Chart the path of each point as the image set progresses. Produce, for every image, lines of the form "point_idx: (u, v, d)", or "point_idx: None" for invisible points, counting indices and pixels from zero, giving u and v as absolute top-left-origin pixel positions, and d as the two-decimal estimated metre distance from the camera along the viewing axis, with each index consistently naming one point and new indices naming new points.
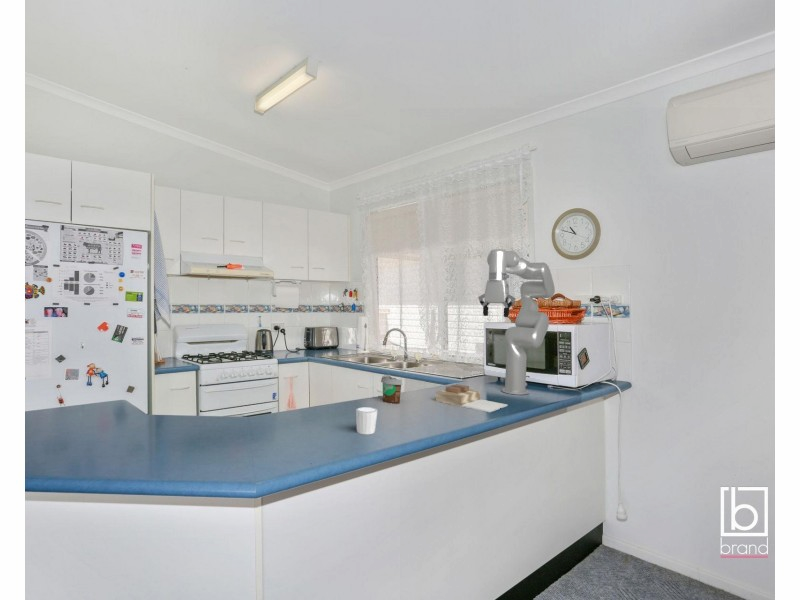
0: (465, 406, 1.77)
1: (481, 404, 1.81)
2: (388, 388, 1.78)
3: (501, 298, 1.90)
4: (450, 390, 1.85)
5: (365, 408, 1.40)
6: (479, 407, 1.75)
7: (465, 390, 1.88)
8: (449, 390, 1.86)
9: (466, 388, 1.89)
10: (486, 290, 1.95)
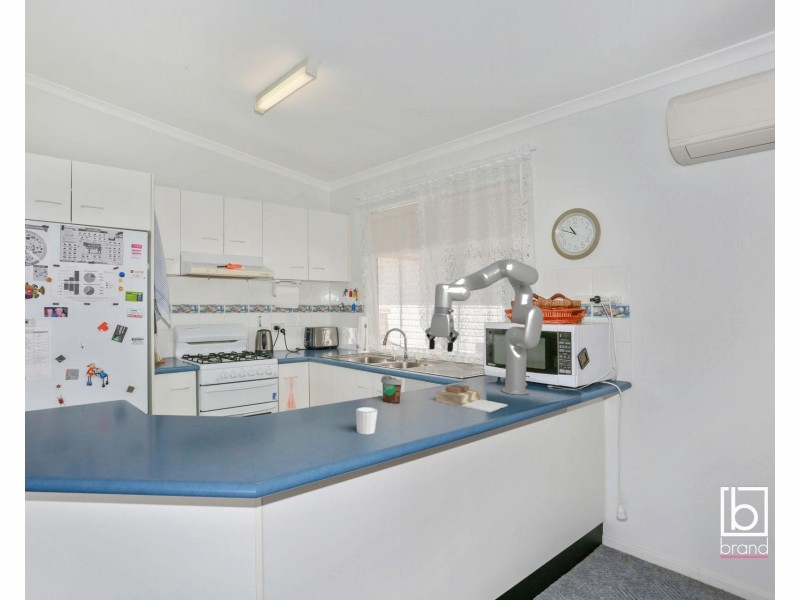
0: (465, 406, 1.77)
1: (481, 404, 1.81)
2: (388, 388, 1.78)
3: (445, 333, 1.91)
4: (450, 390, 1.85)
5: (365, 408, 1.40)
6: (479, 407, 1.75)
7: (465, 390, 1.88)
8: (449, 390, 1.86)
9: (466, 388, 1.89)
10: (432, 324, 1.95)
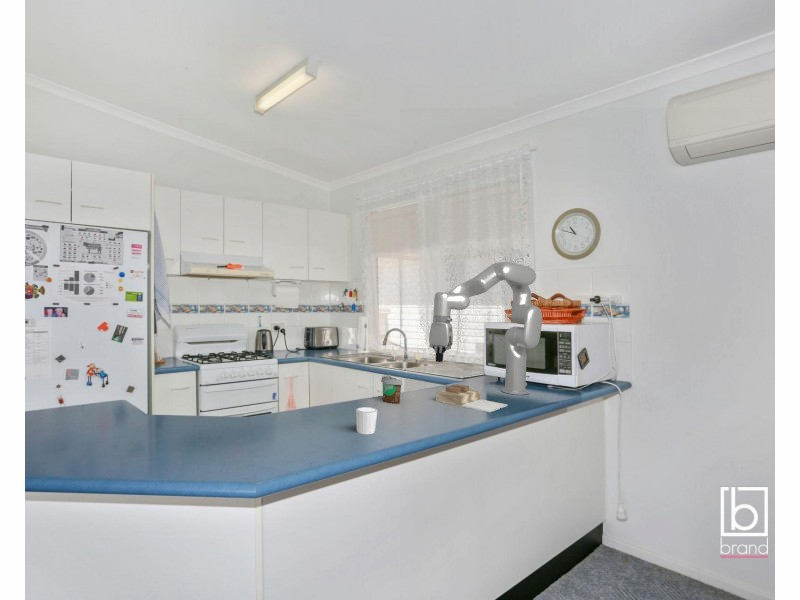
0: (465, 406, 1.77)
1: (481, 404, 1.81)
2: (388, 388, 1.78)
3: (444, 341, 1.91)
4: (450, 390, 1.85)
5: (365, 408, 1.40)
6: (479, 407, 1.75)
7: (465, 390, 1.88)
8: (449, 390, 1.86)
9: (466, 388, 1.89)
10: (430, 332, 1.95)
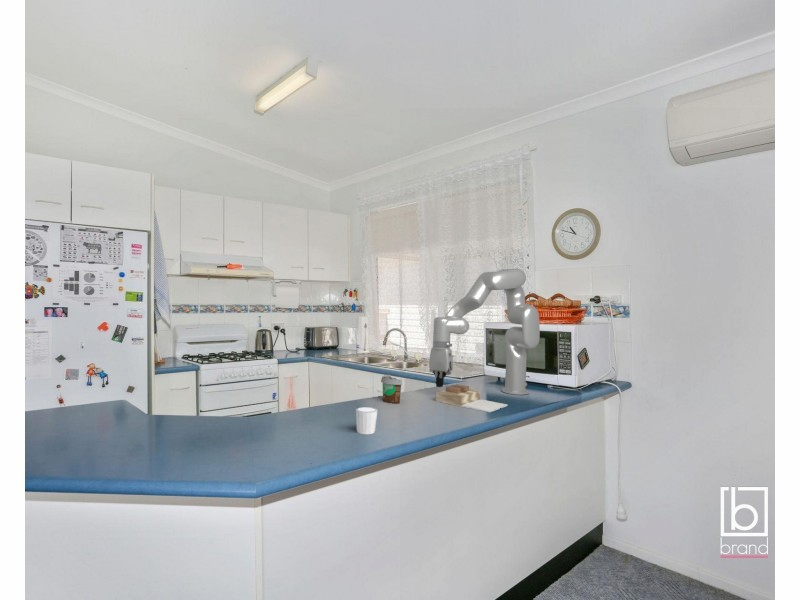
0: (465, 406, 1.77)
1: (481, 404, 1.81)
2: (388, 388, 1.78)
3: (444, 367, 1.91)
4: (450, 390, 1.85)
5: (365, 408, 1.40)
6: (479, 407, 1.75)
7: (465, 390, 1.88)
8: (449, 390, 1.86)
9: (466, 388, 1.89)
10: (430, 357, 1.95)
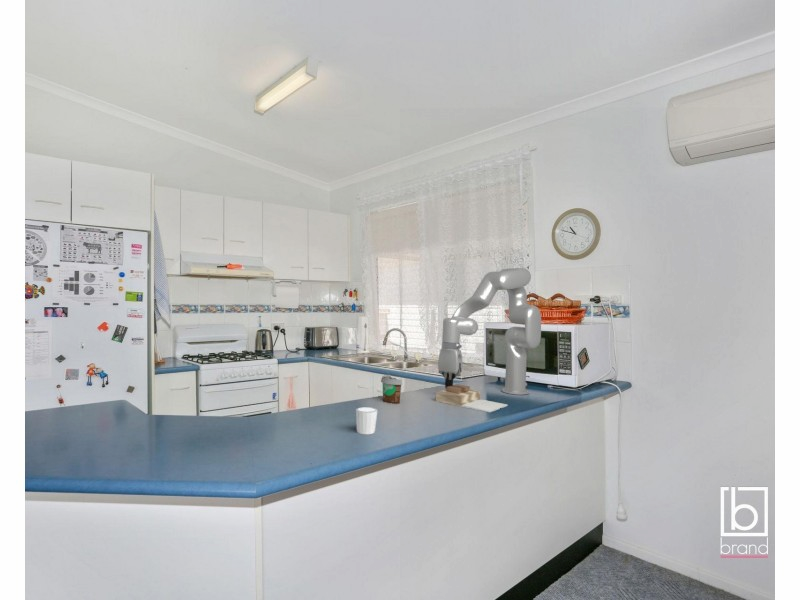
0: (465, 406, 1.77)
1: (481, 404, 1.81)
2: (388, 388, 1.78)
3: (453, 368, 1.88)
4: (451, 390, 1.85)
5: (365, 408, 1.40)
6: (479, 407, 1.75)
7: (466, 390, 1.88)
8: (450, 390, 1.86)
9: (467, 388, 1.89)
10: (439, 359, 1.92)
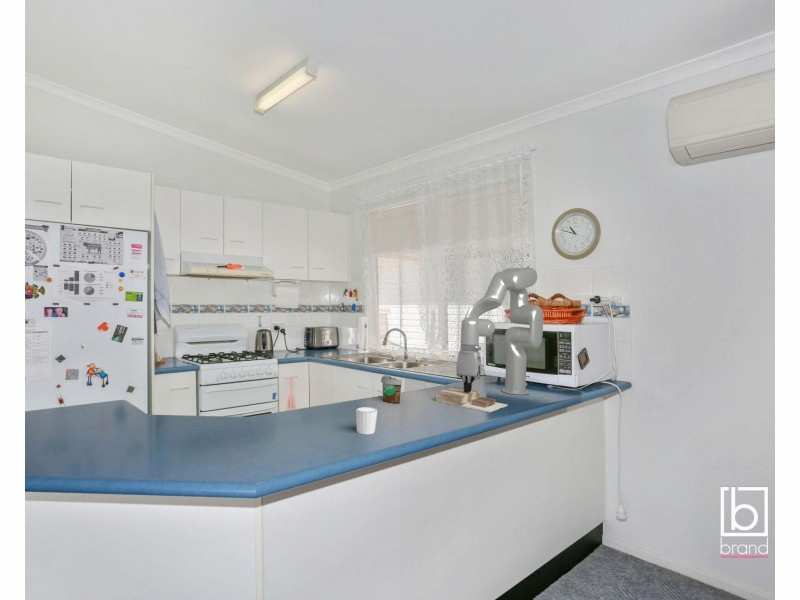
0: (465, 406, 1.77)
1: None
2: (388, 388, 1.78)
3: (473, 371, 1.82)
4: (479, 403, 1.77)
5: (365, 408, 1.40)
6: (479, 407, 1.75)
7: None
8: (480, 403, 1.76)
9: None
10: (458, 361, 1.86)
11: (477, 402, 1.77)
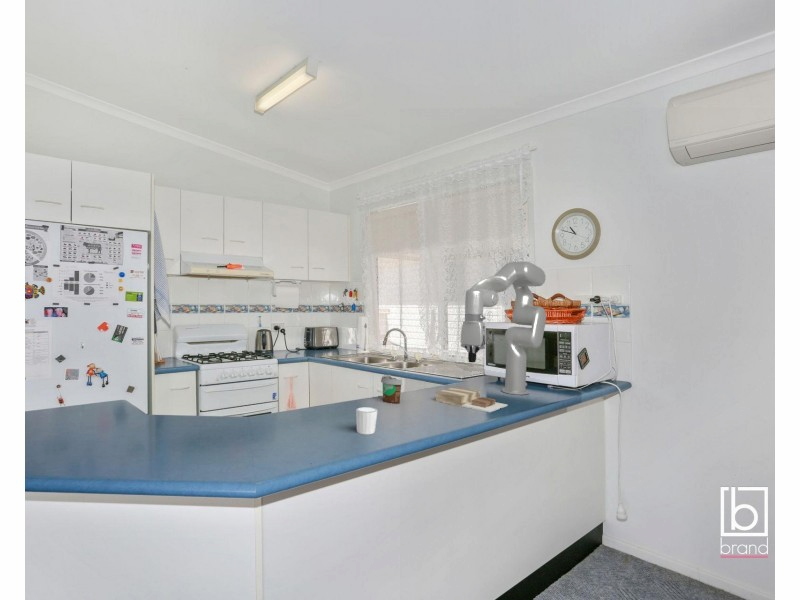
0: (465, 406, 1.77)
1: None
2: (388, 388, 1.78)
3: (477, 341, 1.81)
4: (479, 403, 1.77)
5: (365, 408, 1.40)
6: (479, 407, 1.75)
7: None
8: (480, 403, 1.76)
9: None
10: (462, 331, 1.86)
11: (477, 402, 1.77)
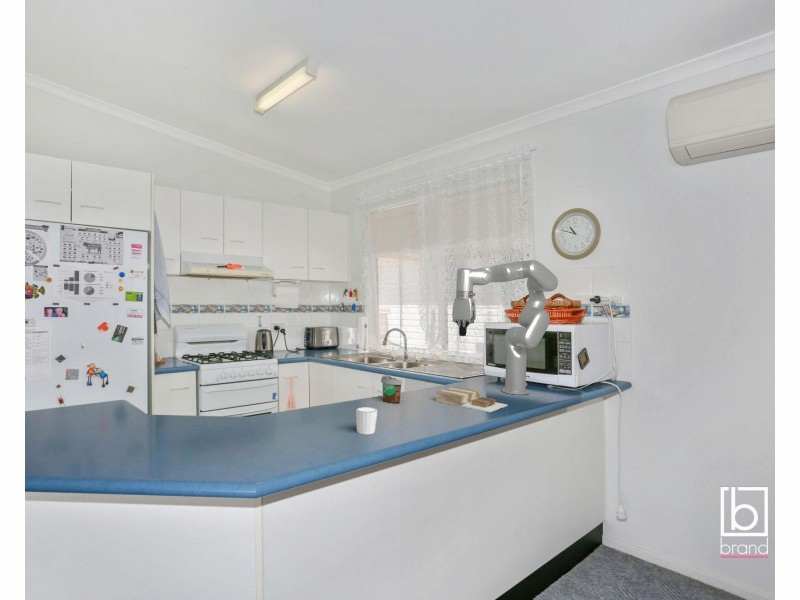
0: (465, 406, 1.77)
1: None
2: (388, 388, 1.78)
3: (467, 316, 1.95)
4: (479, 403, 1.77)
5: (365, 408, 1.40)
6: (479, 407, 1.75)
7: None
8: (480, 403, 1.76)
9: None
10: (453, 307, 2.00)
11: (477, 402, 1.77)
